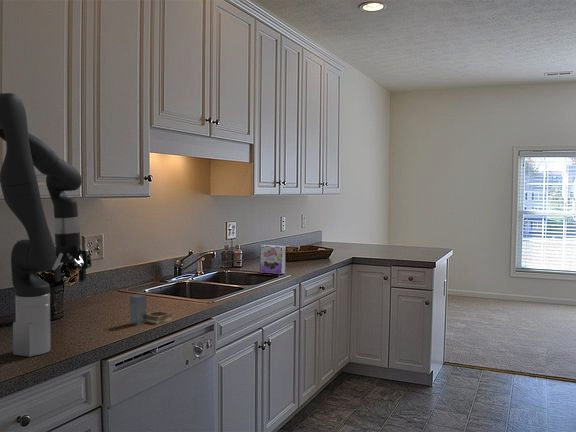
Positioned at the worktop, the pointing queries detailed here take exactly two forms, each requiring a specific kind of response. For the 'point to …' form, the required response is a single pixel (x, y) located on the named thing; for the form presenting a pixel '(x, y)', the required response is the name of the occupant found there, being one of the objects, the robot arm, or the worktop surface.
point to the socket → (158, 317)
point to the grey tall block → (137, 309)
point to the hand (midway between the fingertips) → (70, 281)
